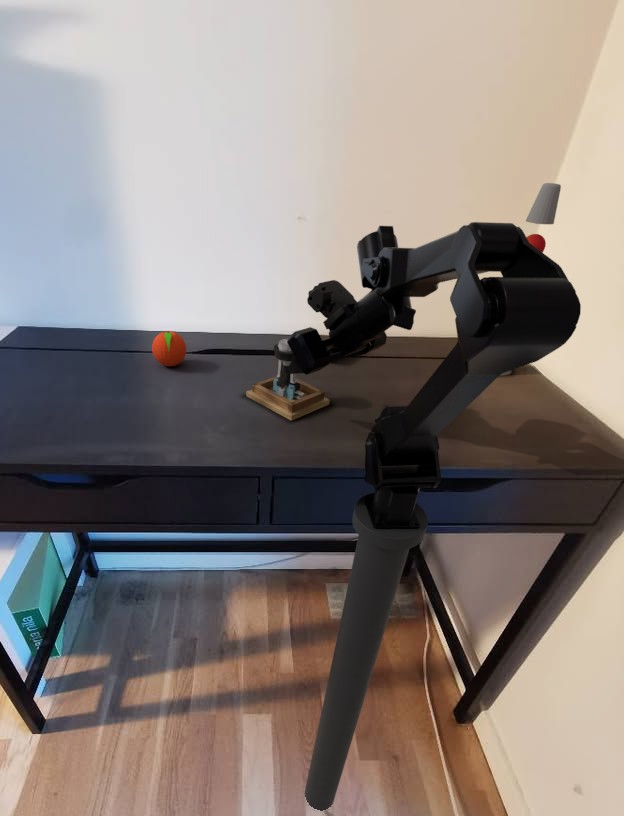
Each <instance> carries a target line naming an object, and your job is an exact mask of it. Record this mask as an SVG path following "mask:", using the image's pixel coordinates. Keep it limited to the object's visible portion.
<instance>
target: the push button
mask: <svg viewBox="0 0 624 816" xmlns="http://www.w3.org/2000/svg"><path fill="white" fill-rule="evenodd" d="M287 340H288V338H283V339H280V340H279V341H278V343H276V344H274V345H273V351H274V356H275V358H276V359H277V360H278V365H277V366H278V369H277V374H276V376H277V377H278V378H276V379H274V384H273V392H274V393H276V394H278V395H280V396H282V397H286V398H288V399H290V400H292V399H294V398H298V399H300V398H303V397H300V396H299V395H298V394H300V393H302V392H300V383H298V382H296V379H297V374H290V372H289V370H288V367H289V365H290V363H291V361H292V359H293V356H294V355H293V353H292V351H291V349H290V347H289V345H288V343H287ZM300 395H304V393H302V394H300Z"/></svg>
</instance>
